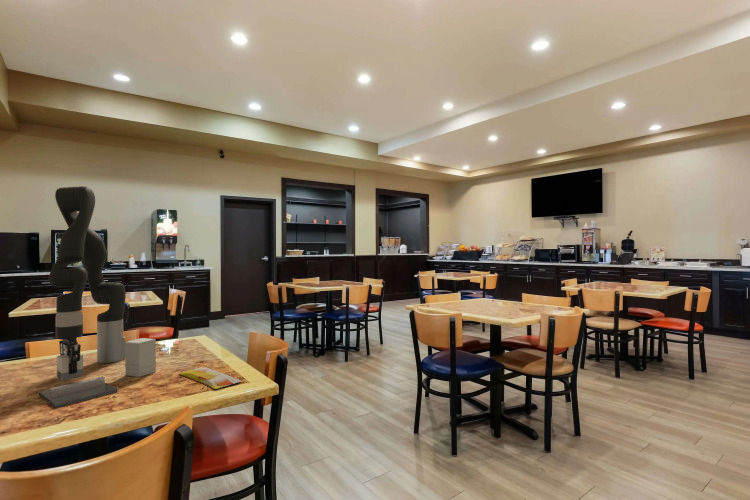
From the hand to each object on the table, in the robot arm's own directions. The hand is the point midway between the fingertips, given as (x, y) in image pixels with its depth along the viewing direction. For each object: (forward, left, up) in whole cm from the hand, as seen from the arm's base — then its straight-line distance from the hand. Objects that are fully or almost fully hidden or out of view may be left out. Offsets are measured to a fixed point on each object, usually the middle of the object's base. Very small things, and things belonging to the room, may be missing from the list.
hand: (70, 371), depth 133 cm
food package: (-32, +35, -5) cm, 47 cm away
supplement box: (-20, +8, -4) cm, 22 cm away
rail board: (+1, +14, -4) cm, 15 cm away
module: (0, 0, -2) cm, 2 cm away
